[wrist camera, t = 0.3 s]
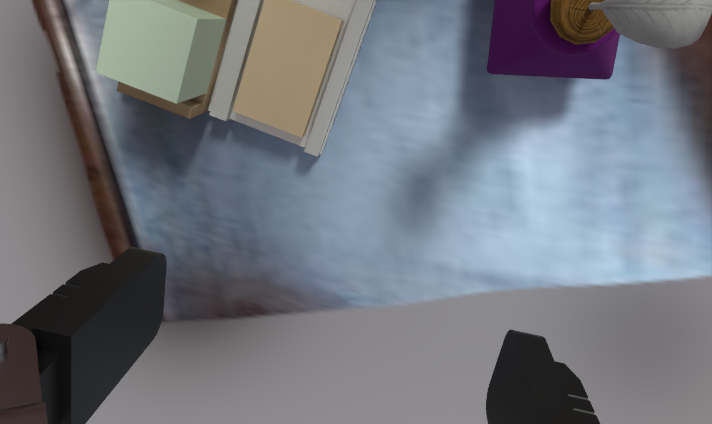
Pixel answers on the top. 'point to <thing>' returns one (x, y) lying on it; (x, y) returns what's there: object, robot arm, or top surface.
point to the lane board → (289, 66)
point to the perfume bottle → (585, 33)
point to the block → (160, 47)
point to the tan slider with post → (223, 5)
